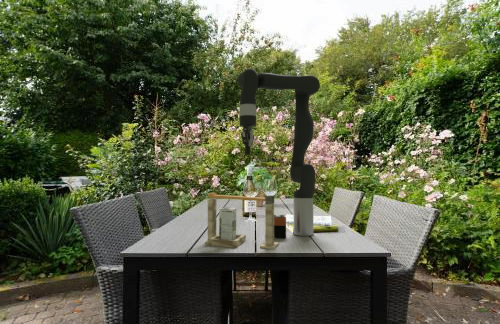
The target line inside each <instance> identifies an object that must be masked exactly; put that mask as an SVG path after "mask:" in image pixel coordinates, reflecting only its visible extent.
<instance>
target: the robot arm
mask: <svg viewBox="0 0 500 324" xmlns="http://www.w3.org/2000/svg"><path fill="white" fill-rule="evenodd" d="M237 83H238V85H239V86H240V87H241V88H242V91H241V92H240V95H239V112H238V114H239V116H238V117H239V119H238V123H239V124H238V125H239V127H242V131H240V136H241V140H242V145H243V147H244V155H245V156H251V153H252V149H251V148H252V146H253V143H254V140H255V134H254V130H253V128H256V127H257V105H256V104H257V101H256V100H257V96H256V95H257V91H258V89H265V90H273V91H281V90H294V96H295V97H294V98H295V99H294V100H295V102H294V103H295V111H294V113H295V114H294V127H293V144H292V145H293V146H292V147H293V148H292V156H291V162H290V163H291V164H290V171H289V175H290V178H291V180H292V182H293V183H296V184H299V188H298V189H297V190H294V191H293V235H295V236H301V237H310V236H314V194H315V191H316V169H315V167H314V165H312V164H311V163H305V156H306V152H307V151H308V148H309V147H310V145H311V143H312V140H313V138H314V127H315V125H314V124H315V123H314V119H313V116H312V114H311V111H310V106H309V105H310V97H311V96H313V95H315V94H317V92H318V91H320V88H321V83H320V80H319V79H318V78H317V77H316V76H315V75H312V74H311V75H288V74H287V75H286V74H285V75H284V74H276V73H271V72H261V73H258V72H257V71H256V70H255V69H254V68H247V69H245V70H244V71H243V72H241V73H240V74H239V75H238V76H237Z"/></svg>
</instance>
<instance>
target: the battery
mask: <svg viewBox="0 0 500 324" xmlns="http://www.w3.org/2000/svg"><path fill="white" fill-rule="evenodd" d="M286 238H287V217H286V216H285V214H280V215H278V216H277V215H276V214H274V239H286Z"/></svg>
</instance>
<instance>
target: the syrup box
mask: <svg viewBox="0 0 500 324" xmlns="http://www.w3.org/2000/svg"><path fill="white" fill-rule="evenodd" d="M218 219H219V220H218V221H219V223H218V224H219V225H218V230H219V231H218V232H219V233H218V234H219V239H225V240H235V239H236V234H237V208H236V207H222V208H220V209H219V218H218Z"/></svg>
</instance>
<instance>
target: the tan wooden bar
mask: <svg viewBox="0 0 500 324" xmlns="http://www.w3.org/2000/svg"><path fill="white" fill-rule="evenodd" d="M207 195H208V197H207V198H208V199H226V200H241V201H256V202H257V201H258V202H265V197H258V196H257V197H256V196H245V195H243V196H241V195H228V194H227V195H224V194H217V192H208V194H207Z"/></svg>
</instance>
